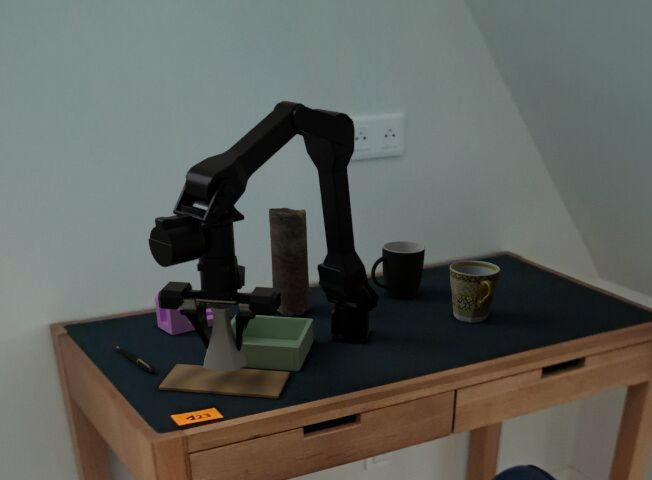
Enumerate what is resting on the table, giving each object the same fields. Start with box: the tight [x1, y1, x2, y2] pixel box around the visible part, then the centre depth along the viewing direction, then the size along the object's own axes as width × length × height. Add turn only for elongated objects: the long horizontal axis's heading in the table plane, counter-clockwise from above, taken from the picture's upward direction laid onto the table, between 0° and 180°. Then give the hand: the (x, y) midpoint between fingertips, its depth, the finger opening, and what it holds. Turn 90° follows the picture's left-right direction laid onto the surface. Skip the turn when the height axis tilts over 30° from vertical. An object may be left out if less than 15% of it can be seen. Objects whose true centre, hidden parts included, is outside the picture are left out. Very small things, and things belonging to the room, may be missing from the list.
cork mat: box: [158, 363, 291, 399], centre depth 145 cm, size 20×10×1 cm, turn 83°
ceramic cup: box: [449, 260, 501, 324], centre depth 171 cm, size 13×10×10 cm
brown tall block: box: [268, 207, 311, 317], centre depth 170 cm, size 8×7×20 cm
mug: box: [370, 240, 426, 300], centre depth 183 cm, size 12×9×10 cm
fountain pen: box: [116, 345, 154, 373], centre depth 151 cm, size 14×1×2 cm, turn 39°
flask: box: [203, 303, 246, 371], centre depth 141 cm, size 7×7×10 cm
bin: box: [230, 314, 314, 372], centre depth 155 cm, size 15×15×4 cm
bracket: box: [154, 289, 213, 336], centre depth 166 cm, size 13×6×7 cm, turn 130°
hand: (224, 349), depth 142 cm, fingers closed on flask, 5 cm apart
